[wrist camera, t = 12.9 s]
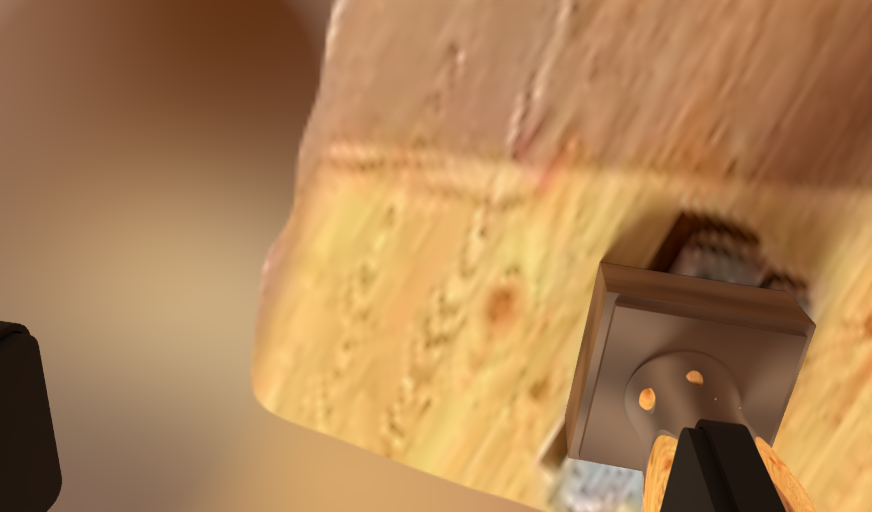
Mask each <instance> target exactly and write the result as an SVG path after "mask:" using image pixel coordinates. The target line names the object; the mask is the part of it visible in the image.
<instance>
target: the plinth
mask: <svg viewBox="0 0 872 512" xmlns="http://www.w3.org/2000/svg"><path fill="white" fill-rule="evenodd" d="M815 328H816V325H815V323H814V322H813V321H812V320H811V319H810V318H809V316H808V315H807V314H806V313H805V312H804V311H803V309H802V308H801V307H800V306H799V305H798V304H797V302H796V301H795V300H794V299H793V298H792V297H791V295H790V294H789V293H788V292H784V291H777V290H771V289H765V288H759V287H752V286H746V285H740V284H733V283H727V282H721V281H715V280H708V279H702V278H696V277H689V276H683V275H677V274H671V273H664V272H658V271H652V270H645V269H639V268H633V267H627V266H620V265H614V264H608V263H601V262H600V264H599V268H598V273H597V277H596V281H595V286H594V290H593V295H592V299H591V303H590V308H589V312H588V317H587V321H586V326H585V330H584V334H583V339H582V343H581V348H580V352H579V357H578V361H577V365H576V370H575V374H574V379H573V383H572V388H571V392H570V396H569V401H568V405H567V410H566V414H565V422H566V434H567V446H568V458H573V459H578V460H584V461H589V462H595V463H600V464H606V465H611V466H617V467H623V468H628V469H634V470H639V471H642V461H643V451H642V445H641V442H640V439H639V437H638V436H637V434H636V432H635V431H634V429H633V427H632V425H631V424H630V422H629V419H628V417H627V414H626V411H625V404H624V398H625V392H626V388H627V385H628V383H629V381H630V379H631V377H632V376H633V374H634V373H635V372H636V371H637V370H638V369H639V368H640V367H641V366H642V365H643V364H644V363H646V362H647V361H649V360H651V359H652V358H654V357H657V356H659V355H662V354H665V353H670V352H676V351H692V352H698V353H702V354H705V355H708V356H710V357H712V358H714V359H716V360H717V361H719V362H720V363H721V364H723V365H724V366H725V367H726V368H727V369H728V370H729V371H730V373H731V374H732V375H733V377H734V379H735V381H736V383H737V385H738V388H739V392H740V397H741V403H742V409H743V413H744V416H745V418H746V419H747V421H748V422H749V424H750V425H751V426H752V427H753V428H754V430H755V431H756V432H757V433H758V434H759V435H760V436H761V437H762V438H763V440H764V441H765V442H766V443H767V444H768V445H769V446H770V447H771V448H772V446H773V443H774V440H775V437H776V435H777V432H778V429H779V427H780V424H781V421H782V418H783V416H784V413H785V410H786V407H787V405H788V402H789V399H790V396H791V394H792V391H793V388H794V385H795V383H796V380H797V377H798V374H799V372H800V369H801V366H802V363H803V361H804V358H805V355H806V352H807V350H808V347H809V344H810V341H811V339H812V336H813V333H814V330H815Z"/></svg>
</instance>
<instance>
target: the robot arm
mask: <svg viewBox="0 0 872 512" xmlns="http://www.w3.org/2000/svg"><path fill="white" fill-rule="evenodd" d="M61 485H62V476H61V470H60V464H59V458H58V453H57V447H56V441H55V436H54V430H53V425H52V419H51V414H50V407H49V401H48V396H47V390H46V384H45V378H44V373H43V367H42V361H41V356H40V350H39V345H38V342H37V340H36V339H35V337H33V336H31V335H30V333H29V331H28V329H27V328H26V327H25V326H24V325H21V324H18V323H11V322H4V321H0V512H47V511H48V510H49V508H50V507H51V506H52V505H53V504H54V502H55V501H56V499H57V497H58V495H59V493H60V490H61ZM660 512H786V510H785V508H784V505H783V503H782V501H781V499H780V497H779V495H778V492H777V490H776V488H775V486H774V484H773V481H772V479H771V477H770V475H769V473H768V471H767V468H766V466H765V464H764V462H763V460H762V458H761V455H760V453H759V451H758V449H757V447H756V444H755V442H754V440H753V438H752V436H751V434H750V431H749V430H748V428H747V427H746V426H745V425H743V424H738V423H731V422H723V421H716V420H709V419H700V420H698V422H697V424H696V426H695V428H688V427H684V428H683V429H682V431H681V433H680V436H679V440H678V443H677V447H676V451H675V455H674V459H673V463H672V466H671V470H670V474H669V478H668V482H667V486H666V490H665V493H664V497H663V501H662V505H661V509H660Z"/></svg>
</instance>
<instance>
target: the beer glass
mask: <svg viewBox="0 0 872 512" xmlns="http://www.w3.org/2000/svg"><path fill="white" fill-rule="evenodd" d="M624 404H625V411H626V414H627V417H628V419H629V422H630V424H631V425H632V427H633V429H634V431H635V432H636V434H637V436H638V437H639V439H640V442H641V445H642V451H643V461H642V483H641V511H642V512H660V509H661V505H662V501H663V497H664V493H665V490H666V486H667V482H668V478H669V474H670V470H671V466H672V463H673V459H674V455H675V451H676V447H677V443H678V440H679V436H680V433H681V431H682V429H683V428H684V427H688V428H695V426H696V424H697V422H698V420H700V419H709V420H716V421H723V422H731V423H738V424H743V425H745V426H746V427H747V428H748V430H749V431H750V434H751V436H752V438H753V440H754V442H755V444H756V447H757V449H758V451H759V453H760V455H761V458H762V460H763V462H764V464H765V466H766V468H767V471H768V473H769V475H770V477H771V479H772V481H773V484H774V486H775V488H776V490H777V492H778V495H779V497H780V499H781V501H782V503H783V505H784V508H785V510H786V512H818V511H817V509H816V508H815V506H814V504H813V503H812V501H811V499H810V498H809V496H808V494H807V493H806V491H805V489H804V488H803V486H802V485H801V484H800V482H799V481H798V480H797V478H796V477H795V476H794V475H793V473H792V472H791V471H790V469H789V468H788V467H787V466H786V464H785V463H784V462H783V461H782V460H781V458H780V457H779V456H778V455H777V454H776V453H775V452H774V451H773V449H772V448H771V447H770V446H769V445H768V444H767V443H766V442H765V441H764V440H763V438H762V437H761V436H760V435H759V434H758V433H757V432H756V431H755V430H754V428H753V427H752V426H751V425H750V424H749V422H748V421H747V419H746V418H745V416H744V413H743V409H742V403H741V397H740V392H739V388H738V385H737V383H736V381H735V379H734V377H733V375H732V374H731V373H730V371H729V370H728V369H727V368H726V367H725V366H724V365H723V364H721V363H720V362H719V361H717V360H716V359H714V358H712V357H710V356H708V355H705V354H702V353H698V352H692V351H676V352H670V353H665V354H662V355H659V356H657V357H654V358H652V359H651V360H649V361H647V362H646V363H644V364H643V365H642V366H641V367H640V368H639V369H638V370H637V371H636V372H635V373H634V374H633V376H632V377H631V379H630V381H629V383H628V385H627V388H626V392H625V398H624Z"/></svg>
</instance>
